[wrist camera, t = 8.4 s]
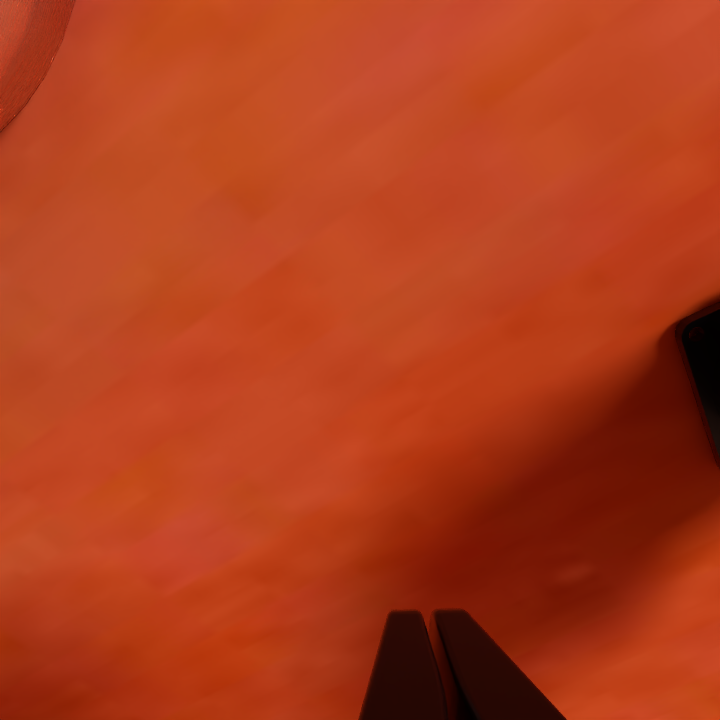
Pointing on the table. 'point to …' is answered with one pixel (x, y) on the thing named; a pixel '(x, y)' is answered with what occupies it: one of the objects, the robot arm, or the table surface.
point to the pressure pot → (27, 48)
